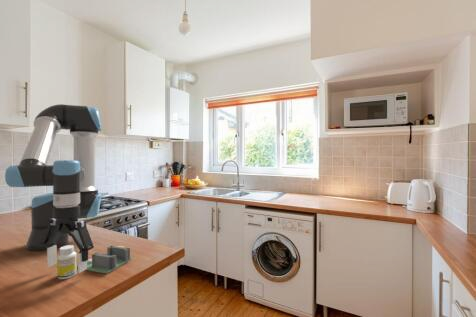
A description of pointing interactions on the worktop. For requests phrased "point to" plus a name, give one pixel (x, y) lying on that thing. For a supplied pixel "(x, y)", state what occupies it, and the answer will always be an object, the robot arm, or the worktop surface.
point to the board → (104, 270)
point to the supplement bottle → (66, 262)
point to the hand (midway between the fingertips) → (67, 268)
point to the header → (110, 257)
